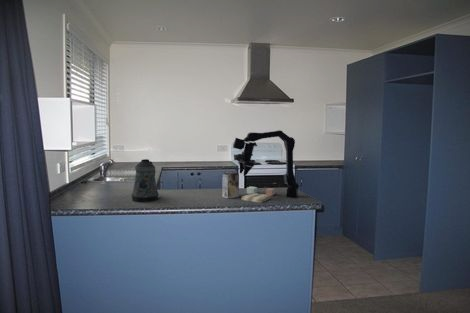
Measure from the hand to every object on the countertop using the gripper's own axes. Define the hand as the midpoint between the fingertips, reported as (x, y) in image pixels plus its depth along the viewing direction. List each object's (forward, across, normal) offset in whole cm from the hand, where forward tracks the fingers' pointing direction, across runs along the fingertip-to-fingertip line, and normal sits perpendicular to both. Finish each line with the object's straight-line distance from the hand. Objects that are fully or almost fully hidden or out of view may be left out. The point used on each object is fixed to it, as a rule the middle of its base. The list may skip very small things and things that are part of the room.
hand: (242, 174), depth 220 cm
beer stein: (+29, -9, -56) cm, 64 cm away
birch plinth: (+13, +7, +11) cm, 18 cm away
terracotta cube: (+10, -4, +24) cm, 26 cm away
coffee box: (+17, -2, -4) cm, 17 cm away
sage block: (+13, -12, +14) cm, 22 cm away
